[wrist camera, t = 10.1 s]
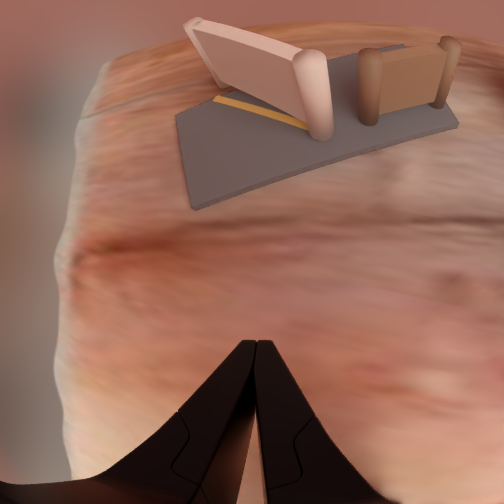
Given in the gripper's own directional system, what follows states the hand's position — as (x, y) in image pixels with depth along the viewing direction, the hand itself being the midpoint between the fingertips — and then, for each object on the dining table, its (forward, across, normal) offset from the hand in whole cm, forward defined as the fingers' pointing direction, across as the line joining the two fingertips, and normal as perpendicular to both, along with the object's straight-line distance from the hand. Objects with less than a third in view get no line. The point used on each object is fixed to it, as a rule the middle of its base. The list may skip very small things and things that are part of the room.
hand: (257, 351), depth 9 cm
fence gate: (+21, 0, -8) cm, 22 cm away
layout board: (+21, -4, -7) cm, 22 cm away
